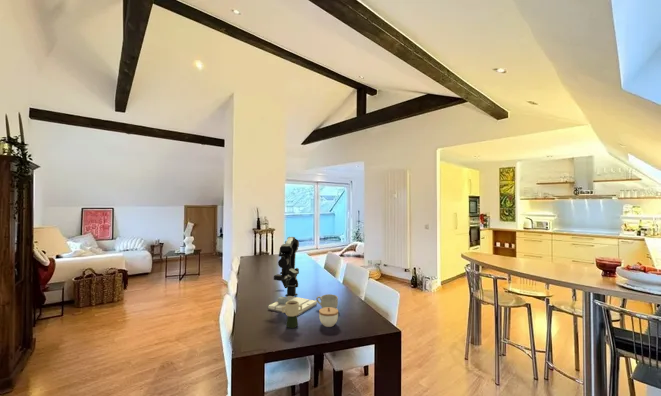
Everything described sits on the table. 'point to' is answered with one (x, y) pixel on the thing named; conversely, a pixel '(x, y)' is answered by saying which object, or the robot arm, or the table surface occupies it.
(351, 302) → the table surface
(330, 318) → the lidded jar
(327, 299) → the teacup
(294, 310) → the character mug
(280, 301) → the block
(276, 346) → the table surface
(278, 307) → the console
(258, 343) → the table surface
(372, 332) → the table surface
